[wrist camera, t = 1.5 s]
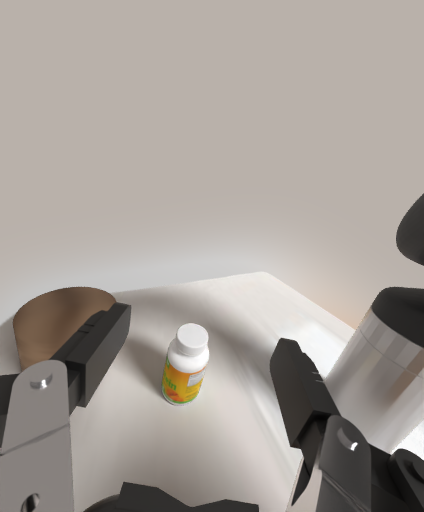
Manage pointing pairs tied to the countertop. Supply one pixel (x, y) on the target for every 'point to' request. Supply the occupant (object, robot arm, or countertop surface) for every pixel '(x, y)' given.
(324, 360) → the countertop surface
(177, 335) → the supplement bottle
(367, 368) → the robot arm
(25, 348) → the walnut block
